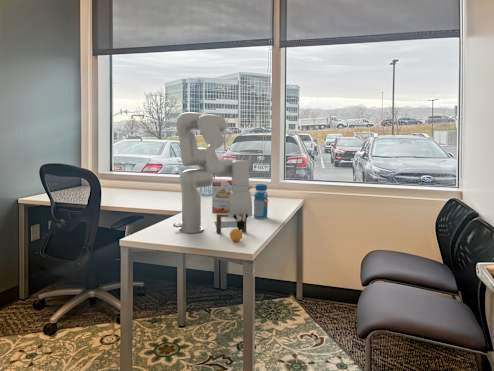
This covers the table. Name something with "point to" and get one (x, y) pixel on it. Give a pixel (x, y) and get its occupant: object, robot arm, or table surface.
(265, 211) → the beverage bottle
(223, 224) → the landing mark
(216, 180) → the cracker box
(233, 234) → the ball
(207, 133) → the robot arm
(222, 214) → the bridge
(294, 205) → the table surface
